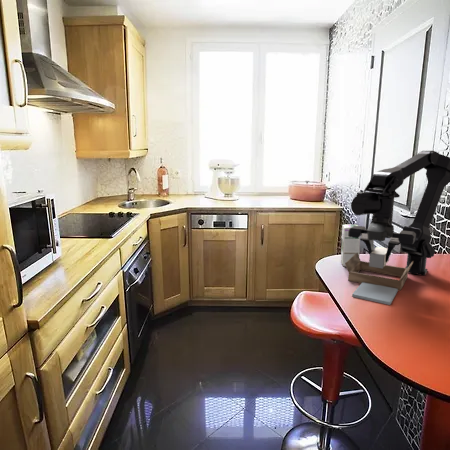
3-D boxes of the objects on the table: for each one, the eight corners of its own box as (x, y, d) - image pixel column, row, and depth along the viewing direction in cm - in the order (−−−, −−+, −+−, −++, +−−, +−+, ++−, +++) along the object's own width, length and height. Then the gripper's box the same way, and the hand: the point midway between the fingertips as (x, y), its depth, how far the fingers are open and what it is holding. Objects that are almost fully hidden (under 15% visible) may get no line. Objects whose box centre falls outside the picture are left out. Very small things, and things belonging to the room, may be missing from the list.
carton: (355, 268, 121) (356, 252, 120) (412, 278, 111) (413, 261, 110) (343, 279, 111) (344, 262, 109) (405, 291, 100) (407, 273, 99)
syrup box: (359, 267, 122) (361, 227, 119) (341, 266, 123) (344, 227, 120) (356, 262, 128) (358, 224, 125) (340, 261, 129) (341, 223, 126)
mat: (362, 284, 107) (362, 282, 106) (397, 291, 101) (397, 288, 101) (352, 296, 98) (352, 294, 98) (390, 305, 92) (390, 302, 92)
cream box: (376, 258, 115) (376, 246, 114) (388, 260, 112) (389, 248, 111) (368, 266, 107) (369, 254, 106) (382, 268, 105) (383, 256, 104)
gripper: (344, 213, 105) (341, 262, 108) (412, 219, 94) (407, 273, 97) (354, 208, 114) (351, 253, 117) (418, 213, 103) (413, 262, 106)
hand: (379, 260), depth 109 cm, fingers closed on cream box, 4 cm apart
